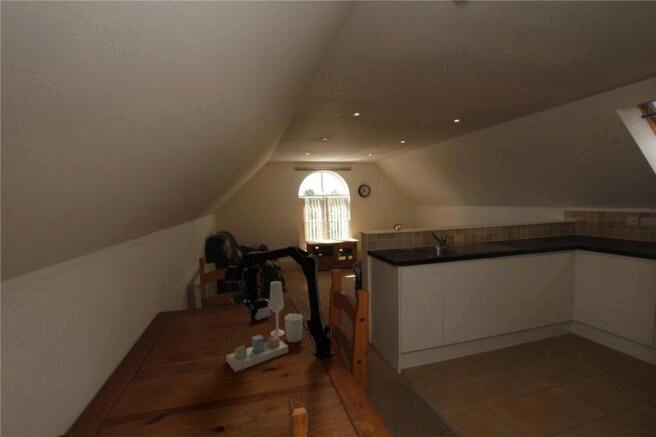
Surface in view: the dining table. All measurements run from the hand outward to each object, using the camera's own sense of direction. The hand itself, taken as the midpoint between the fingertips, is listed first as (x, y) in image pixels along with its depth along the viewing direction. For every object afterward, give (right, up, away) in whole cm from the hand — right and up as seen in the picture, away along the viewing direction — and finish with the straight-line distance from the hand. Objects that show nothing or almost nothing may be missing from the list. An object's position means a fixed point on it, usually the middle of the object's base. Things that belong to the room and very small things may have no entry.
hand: (252, 319), depth 121 cm
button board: (+4, -13, -6) cm, 14 cm away
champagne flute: (+8, -12, +15) cm, 21 cm away
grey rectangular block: (+4, -10, -6) cm, 12 cm away
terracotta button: (+9, -12, -1) cm, 15 cm away
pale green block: (-2, -13, -10) cm, 16 cm away
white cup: (+16, -12, +9) cm, 22 cm away
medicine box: (-4, -11, +35) cm, 37 cm away
